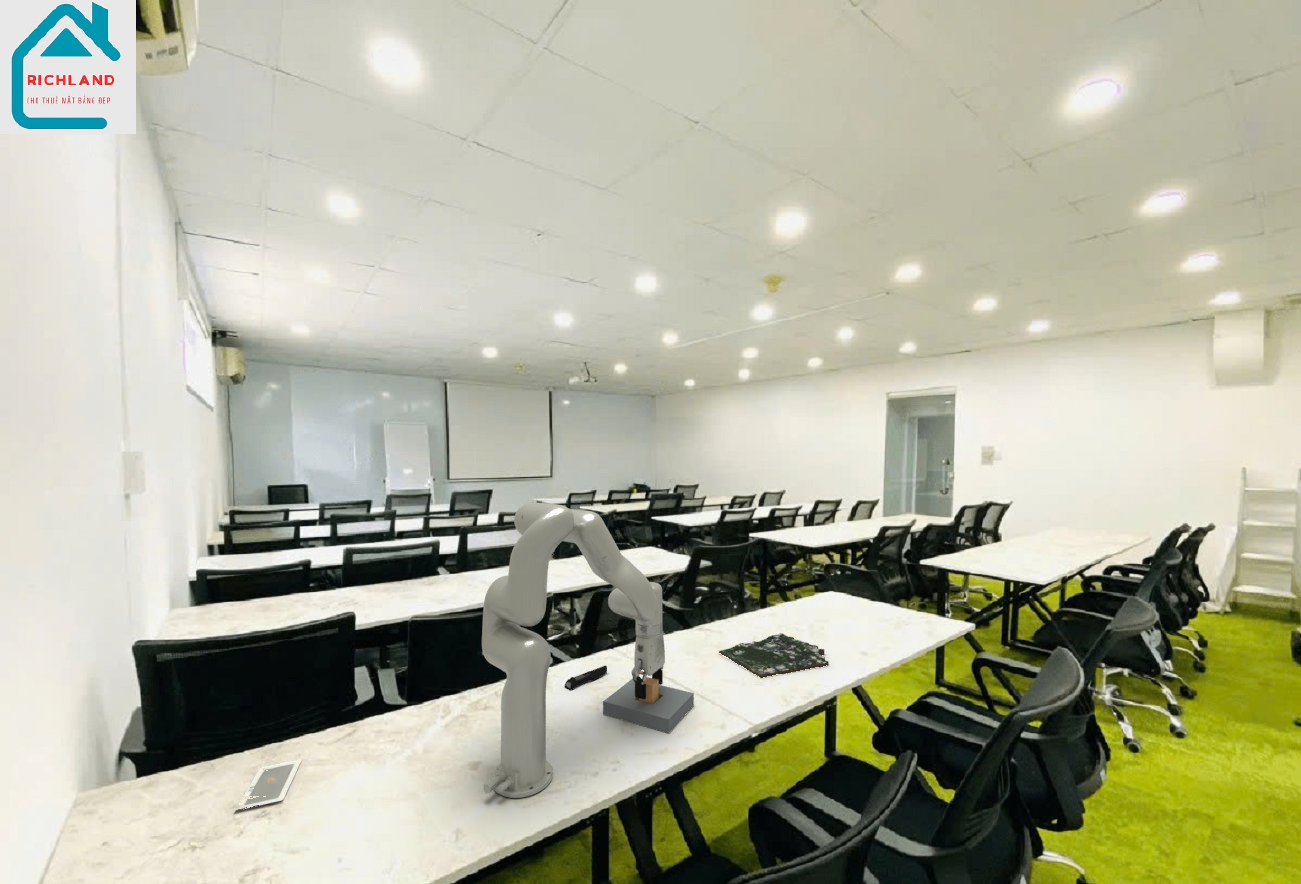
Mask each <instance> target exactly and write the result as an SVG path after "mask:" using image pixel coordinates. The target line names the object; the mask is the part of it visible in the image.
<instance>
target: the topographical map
mask: <svg viewBox="0 0 1301 884" xmlns="http://www.w3.org/2000/svg"><path fill="white" fill-rule="evenodd" d="M719 653H721V654H722V655H724V656H726V657H728V658H729V659H731V660H732V661H734V662H735V663H737V664H738V665H737V664H736V665H737V666H739V665H741V666H743V667H744V668H746V669H747V670H749V671H748V672H749V673H751V672H752V673H753V675H754V674H756V675H757V676H756V675H755V676H756V677H758V676H759V677H760V678H759V677H758V678H759V679H764V678H763V677H765V678H768V677H767V676H771V677H773V676H772V675H776V674H782V675H786V673H787V674H791V672H792V673H797V672H796V671H798V672H801V671H800V670H803V671H806V670H805V669H809V670H811V669H810V668H814V669H816V668H815V667H819V668H821V667H823V666H826V665H830V664H829V663H830V662H829V661H828V660H826V657H825V656H822V655H825V649H824V648H819V646H818V645H816V644H810V643H808V642H806V641H802V640H800V639H795V638H794V637H793V636H788V635H786V634H784V633H782V632H781V633H778V634H773V635H769V636H768V637H766V638H765V639H761V640H759V641H752V642H740V643H738V644H736V645H734V646H732V647H730V648H725V649H721V650H718V654H719ZM722 655H721V656H722ZM732 661H731V662H732ZM734 662H733V663H734ZM735 663H734V664H735ZM826 667H827V666H826ZM744 668H743V669H744ZM823 668H824V667H823ZM746 669H745V670H746ZM747 670H746V671H747ZM752 673H751V674H752ZM776 676H777V675H776Z"/></svg>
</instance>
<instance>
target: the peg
mask: <svg viewBox="0 0 1301 884" xmlns="http://www.w3.org/2000/svg"><path fill="white" fill-rule="evenodd" d="M644 684H646V699H640V698H639V701H643V702H646V703H650V704H655V703H656V702H657V701H658V700H659V680H658V679H653V678H652V677H650V676H649V677H648V676H647V677H646V680H645V683H644Z"/></svg>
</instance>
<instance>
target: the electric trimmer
mask: <svg viewBox="0 0 1301 884" xmlns="http://www.w3.org/2000/svg"><path fill="white" fill-rule="evenodd" d="M607 673H608V666H607V665H602V666H600V667H598V668H595V669H592V670H589V671H587V672H584V673H581V674H579V675H576V676H571V677H570V678H568V679H567V680H566V681H565V683H564V688H565V689H566V690H568V691H573V690H575V688H576V687H579V686H582V685H583V684H586V683H588V682H593V681H594V682H595V680H598V679H599V678H601V677H602V676H604V675H606V674H607Z"/></svg>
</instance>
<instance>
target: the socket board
mask: <svg viewBox="0 0 1301 884" xmlns="http://www.w3.org/2000/svg"><path fill="white" fill-rule="evenodd" d="M694 695H695V693H694V692H690V691H686V690H683V689H682V690H681V689H678V688H673V687H670V686H666V685H663V684H662V685H659V700H658V701H657V702H656V703H655V704H650V703H646V702H643V701H639V698H636V697H635V683H634V680H633V678H631V679H630V680H629V681H627V682H626V683H625V684H624V685H622V686H621V687H620V688H618V689H617V690H616V691H614V692H613V693H612V694H610V695H609V696H608V697H607V698H605V699H604V700H603V701H602V710H603V711H602V714H603V715H604V716H607V717H611V718H615V719H618V720H620V721H624V722H628V723H631V724H635V725H639V726H642V727H646V728H648V729H652V730H655V731H658V732H662V733H666V734H670V733H671V732H672V730H673V729H674V728H675V727H676V726H677V725H678V724H679V723H680V722H681V720H683V718H684V717H685V716H686V715H687V714H688V713H689V712H690V711H691V709H692V708H693V707H694V706H695V703H694V702H695V701H694V700H695V697H694ZM693 705H694V706H693ZM688 711H689V712H688ZM687 712H688V713H687ZM686 713H687V714H686ZM685 714H686V715H685ZM679 721H680V722H679Z"/></svg>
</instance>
